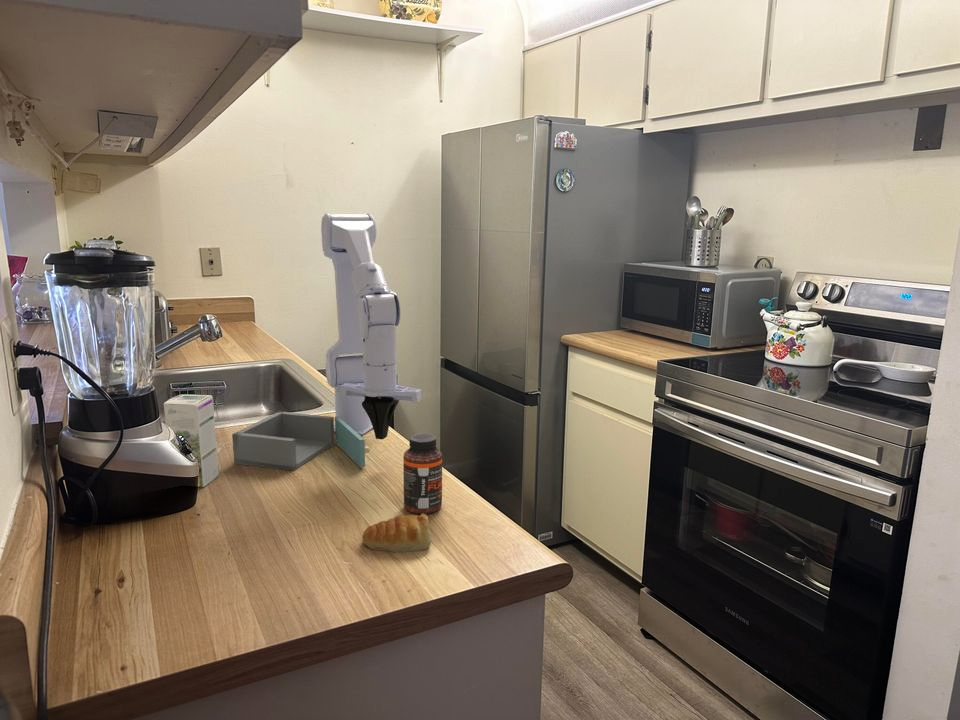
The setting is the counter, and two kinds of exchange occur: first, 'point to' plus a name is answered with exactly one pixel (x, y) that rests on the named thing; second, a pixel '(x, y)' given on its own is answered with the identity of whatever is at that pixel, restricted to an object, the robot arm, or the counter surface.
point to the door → (350, 442)
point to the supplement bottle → (422, 475)
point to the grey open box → (283, 440)
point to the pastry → (399, 534)
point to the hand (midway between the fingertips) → (381, 437)
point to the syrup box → (195, 430)
